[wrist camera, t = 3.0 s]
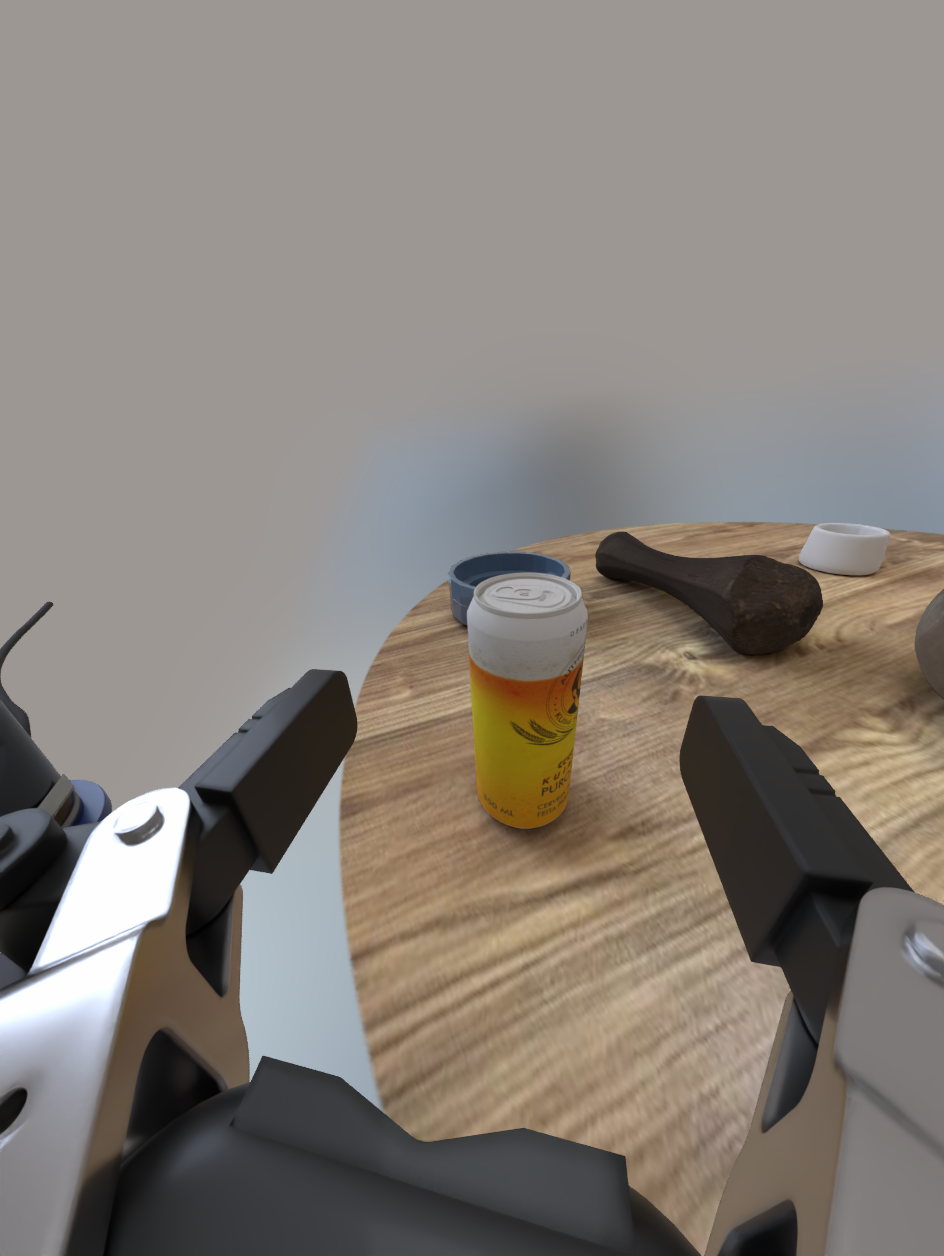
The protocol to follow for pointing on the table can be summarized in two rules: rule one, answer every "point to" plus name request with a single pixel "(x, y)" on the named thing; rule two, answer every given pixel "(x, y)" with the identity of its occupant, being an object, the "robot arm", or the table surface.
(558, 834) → the table surface
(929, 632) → the bowl
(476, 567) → the blue bowl
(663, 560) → the dark brown pestle
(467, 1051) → the table surface
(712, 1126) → the table surface
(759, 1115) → the robot arm
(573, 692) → the beer can
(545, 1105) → the table surface
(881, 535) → the white tapered round piece
